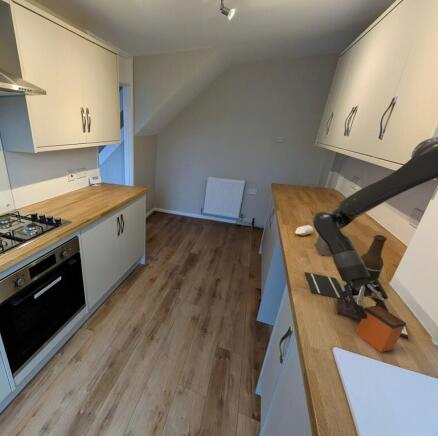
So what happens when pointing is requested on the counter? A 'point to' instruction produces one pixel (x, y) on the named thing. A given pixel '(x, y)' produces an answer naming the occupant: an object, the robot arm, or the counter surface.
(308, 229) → the roll
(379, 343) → the box
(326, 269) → the counter surface
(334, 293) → the mat
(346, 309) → the chocolate bar
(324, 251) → the flask
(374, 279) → the beer bottle
